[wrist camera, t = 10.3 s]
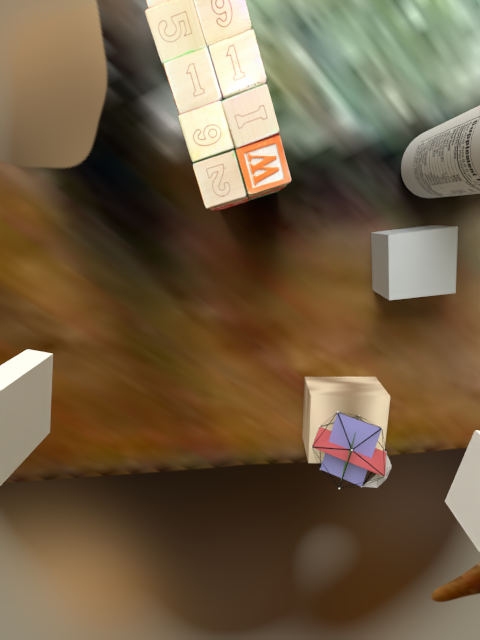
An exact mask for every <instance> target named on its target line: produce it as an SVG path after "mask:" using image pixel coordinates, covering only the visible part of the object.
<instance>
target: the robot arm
mask: <svg viewBox="0 0 480 640" xmlns="http://www.w3.org/2000/svg"><path fill="white" fill-rule="evenodd" d="M52 367H53V354H51V353H46V352H40V351H35V350H29V349H27V350H25V351H24V352H22V353H20V354H19V355H17V356H16V357H14V358H12V359H11V360H9V361H7V362H6V363H4V364H2V365H1V366H0V486H1V485H2V484H3V483H4V481H5V480H6V479H7V478H8V477H9V476H10V475H11V474H12V473H13V472H14V471H15V470H16V468H17V467H18V466H19V465H20V464H21V463H22V462H23V461H24V460H25V459H26V458H27V457H28V455H29V454H30V453H31V452H32V451H33V450H34V449H35V448H36V447H37V446H38V445H39V444H40V442H41V441H42V440H43V439H44V438H45V437H46V436H47V435H48V434H49V433H50V416H51V392H52ZM445 502H446V504H447V505H448V507H449V508H450V510H451V511H452V512H453V514H454V515H455V517H456V519H457V520H458V521H459V523H460V524H461V526H462V527H463V529H464V530H465V532H466V533H467V535H468V536H469V538H470V539H471V540H472V542H473V544H474V545H475V546H476V548H477V549H478V551H479V552H480V431H478V430H475V431H474V434H473V436H472V439H471V441H470V443H469V446H468V448H467V451H466V453H465V455H464V457H463V460H462V462H461V464H460V467H459V469H458V472H457V474H456V476H455V479H454V481H453V483H452V486H451V488H450V490H449V493H448V495H447V498H446V500H445Z"/></svg>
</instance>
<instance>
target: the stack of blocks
mask: <svg viewBox="0 0 480 640" xmlns="http://www.w3.org/2000/svg"><path fill="white" fill-rule="evenodd" d="M146 2H147V5H148V9H146V10H145V14H146V17H147V20H148V23H149V26H150V29H151V32H152V35H153V38H154V41H155V44H156V47H157V50H158V54H159V57H160V60H161V63H162V64H163V66H164V68H165V71H166V75H167V78H168V81H169V84H170V87H171V90H172V93H173V97H174V100H175V103H176V106H177V109H178V112H179V115H178V119H179V122H180V125H181V128H182V131H183V135H184V138H185V141H186V144H187V147H188V151H189V154H190V157H191V160H192V162H193V169H194V172H195V175H196V179H197V182H198V185H199V189H200V192H201V195H202V198H203V202H204V205H205V207H206V208H207V209H211V210H212V211H215V210H223V209H226V208H229V207H232V206H235V205H239V204H242V203H245V202H248V201H250V200H253V199H256V198H259V197H263V196H266V195H269V194H272V193H276V192H278V191H279V190H280V189H282V188H284V187H286V186H287V184H288V183H290V182H291V177H290V173H289V169H288V165H287V161H286V157H285V153H284V149H283V145H282V141H281V138H280V135H279V126H278V123H277V119H276V115H275V112H274V108H273V104H272V101H271V97H270V93H269V90H268V86H267V77H266V73H265V69H264V66H263V62H262V58H261V54H260V51H259V47H258V43H257V40H256V36H255V33H254V31H253V29H252V23H251V19H250V15H249V12H248V8H247V4H246V1H245V0H146Z"/></svg>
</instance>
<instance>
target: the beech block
mask: <svg viewBox="0 0 480 640" xmlns="http://www.w3.org/2000/svg"><path fill="white" fill-rule="evenodd" d="M389 404H390V395H389V394H388V393H387V391H386V390H385V389H384V388H383V386H382V385H381V384H380V382H379V381H378V380H377V378H376V377H305V384H304V413H303V441H304V446H305V450H306V455H307V459H308V463H320V459H319V458H320V454H321V461H323V458H324V455H325V452H322V451H320V450H317V449H315V448H313V449H314V450H313V449H312V448H311V446H312V445H313V442H314V440H315V437H316V435H317V432H318V430H319V426H321V425H322V424H323V425H326V426H323V425H322V428H326V427H327V428H326V429H327V430H330V431H332V428H333V425H334V422H335V419H336V416H335V415H337V414H336V413H337V411H339V412H341V413H342V414H344V413H346V414H345V415H348V416H350V417H355V418H356V419H357V418H358V417H356V416H355V415H357V416H358V415H359V416H360V417H359V418H358V419H359V420H361V419H362V420H363V421H364V422H367V423H370V424H372V425H375V426H379V427H381V428H383V429H382V430H383V432H382V430H381V433H380V436H379V439H378V442H379V443H380V444H381V445H380V444H379V443H378V442H377V444H376V447H375V448H377V449H380V450H382V451H383V448H384V450H385V444H384V442H385V441H386V432H387V423H388V414H389ZM334 414H335V415H334ZM350 414H352V415H350ZM333 415H334V416H335V417H334V416H333ZM332 416H333V417H334V418H333V417H332ZM361 417H362V418H361ZM360 418H361V419H360ZM363 418H364V419H363ZM328 419H329V420H328ZM332 419H333V420H332ZM365 419H366V420H365ZM327 420H328V421H327ZM331 420H332V421H331ZM362 420H361V421H362ZM367 420H368V421H367ZM326 421H327V422H326ZM330 421H331V422H330ZM369 421H370V422H369ZM371 422H372V423H371ZM329 423H330V424H329ZM331 423H333V424H331ZM327 424H329V425H328V426H327ZM382 433H383V436H384V438H383V441H382ZM381 446H382V447H383V448H382V447H381ZM313 451H315V452H316V453H315V452H313ZM314 454H315V455H314ZM316 454H317V455H318V456H317V455H316ZM315 456H316V457H315ZM318 457H319V458H318ZM316 459H317V460H316ZM321 463H322V462H321Z"/></svg>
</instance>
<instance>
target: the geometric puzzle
mask: <svg viewBox="0 0 480 640" xmlns="http://www.w3.org/2000/svg"><path fill="white" fill-rule="evenodd" d="M336 414H337V415H335V414H334V415H335V416H336V419H335V422H334V425H333V428H332V431H330V430H327V429H326V428H327V427H326V428H322V425H323V424H322V425H321V426H319V430H318V432H317V435H316V437H315V440H314V442H313V445H312V446H311V448H312V449H313V448H315V449H317V450H320V451H322V452H325V455H324V458H323V461H321V454H320V458H319V457H318V458H319V459H320V464H321V462H322V465H321V466H320V470H323V471H325V472H328V473H329V474H333V475H335V476H337V477H340V478H341V483H342V480H343V479H344V480H346V481H349V482H351V483H354V485H355V484H356V485H358V486H361V487H372V488H378V487H379V486H380V485H381V484H382V483H383V482H384V481H385V480H386V479H387V476H388V474H389V472H390V470H391V468H392V465H391V462H390V460H389V458H388V455H387V451H385V450H386V448H385V450H384V448H383V447H382V446H381V447H382V448H383V451H382V450H380V449H377V448H375V447H376V444H377V442H378V439H379V436H380V433H381V430H382V429H383V428H381V427H379V426H375V425H372V424H370V423H367V422H364V421H363V420H362V419H361V418H362V417H361V418H360V419H361V420H362V421H361V420H359V419H358V418H359V417H360V416H359V415H358V416H357V415H355V416H356V417H358V418H357V419H356V418H355V417H350V416H348V415H345V414H346V413H344V414H342V413H341V412H339V411H337V413H336ZM334 415H333V416H334ZM350 415H352V414H350ZM333 416H332V417H333ZM335 416H334V417H335ZM334 417H333V418H334ZM363 419H364V418H363ZM328 420H329V419H328ZM328 420H327V421H328ZM332 420H333V419H332ZM332 420H331V421H332ZM365 420H366V419H365ZM327 421H326V422H327ZM331 421H330V422H331ZM367 421H368V420H367ZM369 422H370V421H369ZM371 423H372V422H371ZM329 424H330V423H329ZM329 424H327V426H328V425H329ZM331 424H333V423H331ZM323 426H326V425H323ZM382 432H383V430H382ZM383 438H384V436H383V433H382V441H383ZM378 443H379V442H378ZM379 444H380V443H379ZM384 444H385V442H384ZM380 445H381V444H380ZM313 450H314V449H313ZM313 452H315V451H313ZM315 453H316V452H315ZM314 455H315V454H314ZM316 455H317V454H316ZM317 456H318V455H317ZM315 457H316V456H315ZM316 460H317V459H316ZM367 470H370V471H372V472H374V473H377V474H376V475H375V476H374V477H373V478H371V479H370V480H369V481H368V482H367V481H365V482H367V483H366V484H363V482H364V478H365V476H366V473H367ZM372 472H371V473H372ZM370 475H371V474H370ZM368 477H369V476H368ZM367 479H368V478H367ZM367 479H366V480H367ZM365 482H364V483H365ZM341 483H340V486H341ZM362 484H363V485H362ZM337 486H338V485H337ZM340 486H339V487H338V488H339V489H340ZM343 488H344V487H343Z"/></svg>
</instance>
